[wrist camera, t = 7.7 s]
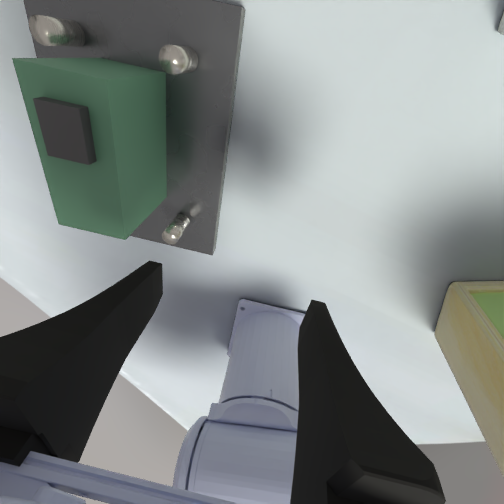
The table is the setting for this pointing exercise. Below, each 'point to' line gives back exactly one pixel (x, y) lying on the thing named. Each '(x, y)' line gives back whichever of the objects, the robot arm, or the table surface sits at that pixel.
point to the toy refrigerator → (477, 353)
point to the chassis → (177, 91)
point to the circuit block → (98, 139)
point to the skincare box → (501, 25)
